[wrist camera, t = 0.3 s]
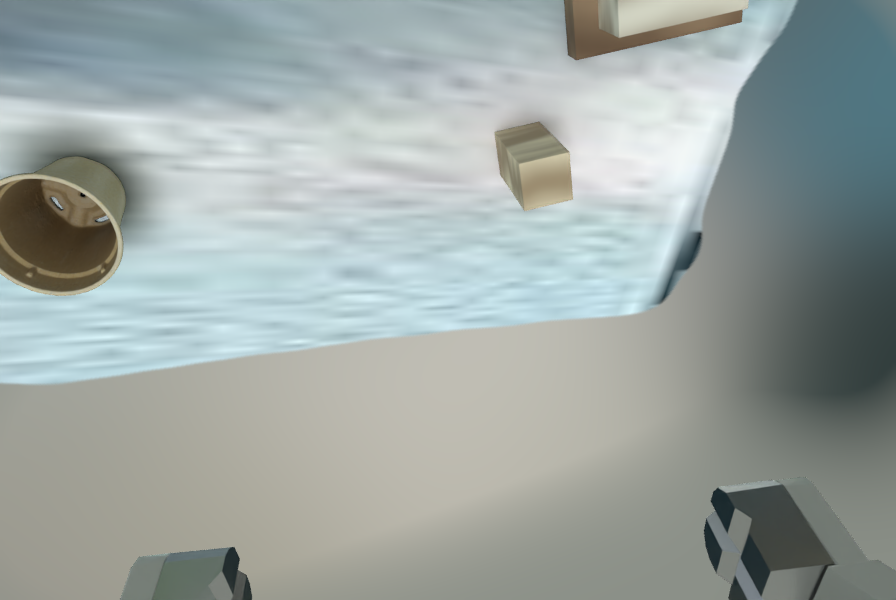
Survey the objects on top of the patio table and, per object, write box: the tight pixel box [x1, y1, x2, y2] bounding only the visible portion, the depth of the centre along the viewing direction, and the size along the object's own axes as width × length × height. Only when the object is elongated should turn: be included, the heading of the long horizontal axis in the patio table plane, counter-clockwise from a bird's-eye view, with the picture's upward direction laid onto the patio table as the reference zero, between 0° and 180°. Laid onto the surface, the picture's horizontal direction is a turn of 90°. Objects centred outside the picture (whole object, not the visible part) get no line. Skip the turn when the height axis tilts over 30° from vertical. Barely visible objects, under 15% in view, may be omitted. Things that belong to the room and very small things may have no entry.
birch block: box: [495, 122, 573, 211], centre depth 54 cm, size 4×4×8 cm
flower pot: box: [0, 157, 126, 296], centre depth 49 cm, size 9×9×9 cm
